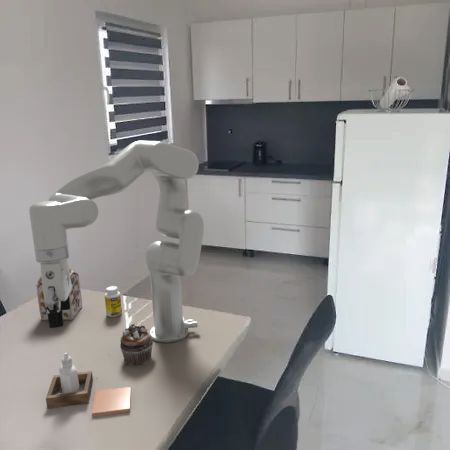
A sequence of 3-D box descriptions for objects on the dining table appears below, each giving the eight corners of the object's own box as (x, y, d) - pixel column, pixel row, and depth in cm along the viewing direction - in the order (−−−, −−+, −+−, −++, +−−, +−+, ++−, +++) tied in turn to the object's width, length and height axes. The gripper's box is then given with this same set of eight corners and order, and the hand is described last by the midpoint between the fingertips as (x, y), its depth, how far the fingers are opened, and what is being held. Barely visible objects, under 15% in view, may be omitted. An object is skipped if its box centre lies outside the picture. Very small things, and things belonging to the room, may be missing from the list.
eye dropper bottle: (63, 402, 114) (57, 360, 111) (62, 390, 119) (56, 350, 116) (80, 398, 115) (75, 356, 112) (79, 386, 120) (73, 346, 117)
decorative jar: (72, 320, 158) (66, 273, 153) (40, 321, 158) (33, 273, 154) (83, 306, 170) (78, 261, 165) (53, 306, 170) (46, 262, 165)
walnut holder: (93, 380, 123) (91, 370, 122) (88, 403, 113) (87, 393, 112) (55, 385, 121) (53, 375, 120) (47, 408, 111) (45, 398, 111)
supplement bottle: (111, 319, 158) (108, 292, 156) (103, 314, 162) (100, 288, 160) (125, 313, 162) (122, 287, 159) (117, 309, 166) (114, 283, 163)
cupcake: (115, 365, 130) (112, 333, 127) (130, 348, 139) (128, 318, 136) (145, 369, 127) (143, 337, 125) (159, 351, 136) (157, 321, 134)
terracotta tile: (131, 389, 118) (130, 386, 118) (129, 411, 109) (129, 408, 109) (96, 394, 117) (95, 390, 116) (92, 416, 108) (91, 413, 108)
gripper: (61, 263, 99) (70, 332, 104) (73, 241, 116) (80, 302, 120) (26, 266, 98) (36, 336, 102) (43, 243, 115) (51, 305, 119)
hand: (60, 317), depth 111 cm, fingers open, 9 cm apart
